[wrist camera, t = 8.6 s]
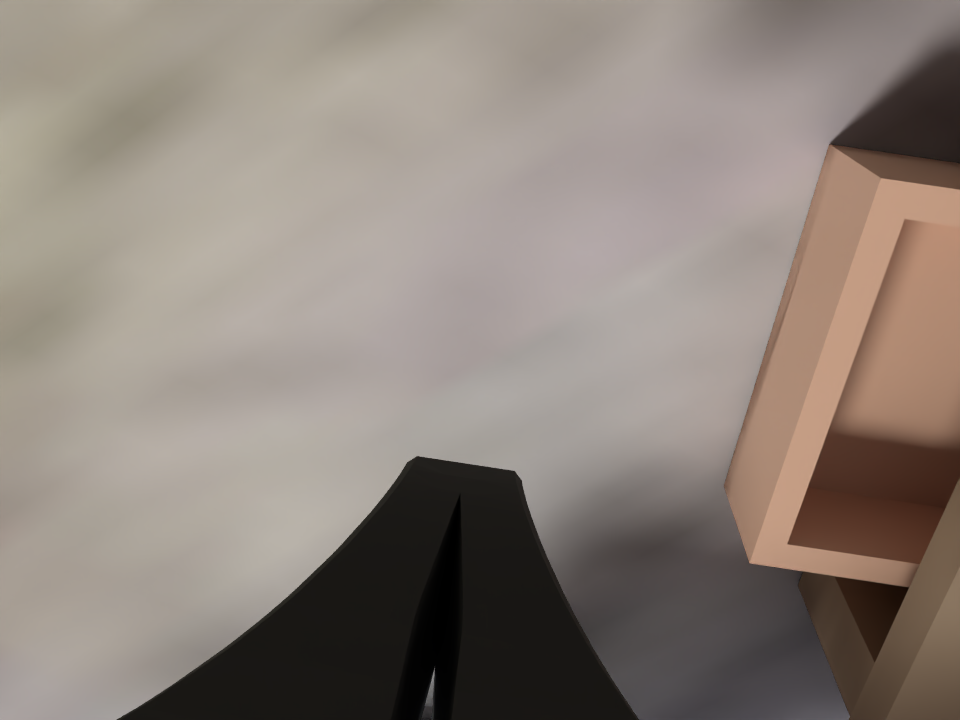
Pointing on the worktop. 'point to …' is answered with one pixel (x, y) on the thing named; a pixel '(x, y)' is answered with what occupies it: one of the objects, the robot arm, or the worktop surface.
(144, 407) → the worktop surface
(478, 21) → the worktop surface
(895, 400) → the peach open box
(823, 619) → the overhang
